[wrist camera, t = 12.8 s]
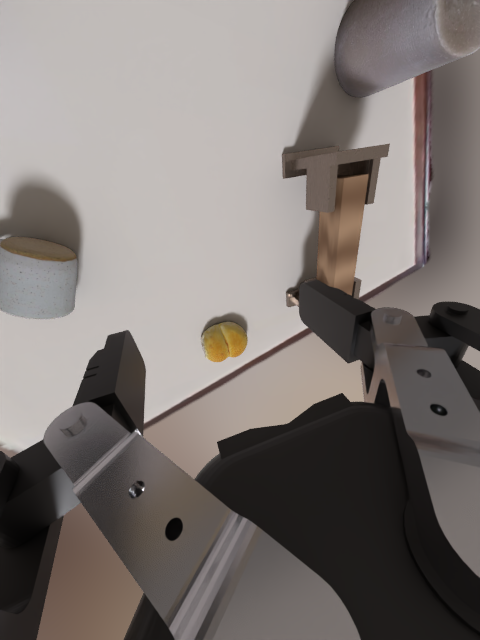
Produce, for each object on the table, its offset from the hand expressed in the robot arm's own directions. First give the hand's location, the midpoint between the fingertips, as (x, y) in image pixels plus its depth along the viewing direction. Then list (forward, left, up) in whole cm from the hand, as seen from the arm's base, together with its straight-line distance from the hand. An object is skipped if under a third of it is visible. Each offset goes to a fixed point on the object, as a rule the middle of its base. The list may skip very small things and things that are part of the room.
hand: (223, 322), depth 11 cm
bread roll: (+22, +3, -28) cm, 36 cm away
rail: (+6, +22, -22) cm, 32 cm away
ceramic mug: (+1, -19, -28) cm, 34 cm away
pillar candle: (-17, +30, -28) cm, 45 cm away
